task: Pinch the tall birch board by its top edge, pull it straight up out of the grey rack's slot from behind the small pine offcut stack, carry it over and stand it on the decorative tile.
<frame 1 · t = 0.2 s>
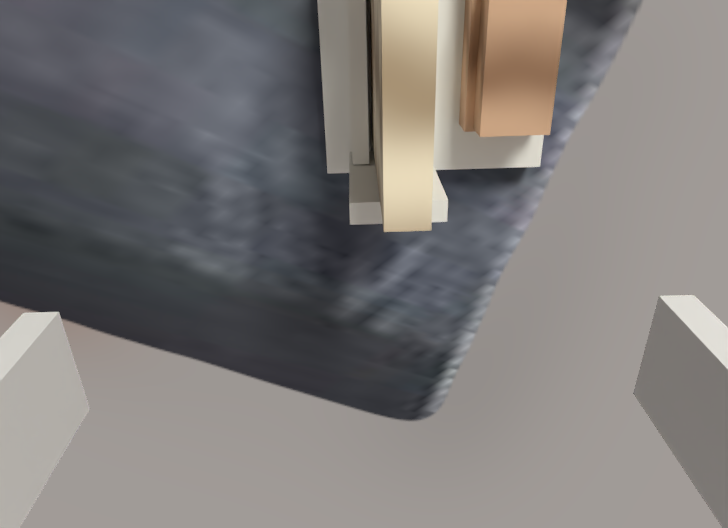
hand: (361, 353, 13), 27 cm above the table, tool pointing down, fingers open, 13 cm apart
offcut upper: (512, 56, 32), point 4 cm above the table, touching offcut lower
birch board: (387, 41, 33), point 2 cm above the table, touching board rack
offcut lower: (505, 38, 33), point 2 cm above the table, touching board rack, offcut upper
board rack: (433, 36, 35), on the table
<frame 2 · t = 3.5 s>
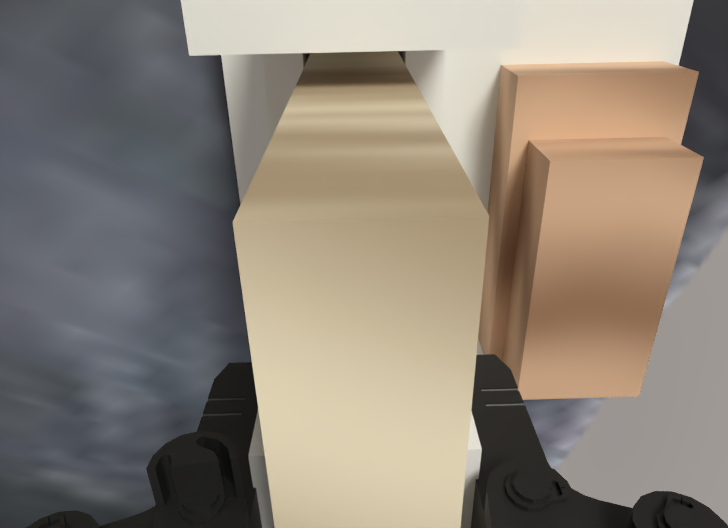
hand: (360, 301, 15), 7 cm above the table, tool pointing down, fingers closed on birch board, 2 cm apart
offcut upper: (575, 260, 18), point 4 cm above the table, touching offcut lower
birch board: (358, 218, 20), point 2 cm above the table, touching board rack, gripper
offcut lower: (559, 213, 20), point 2 cm above the table, touching board rack, offcut upper
board rack: (436, 195, 21), on the table
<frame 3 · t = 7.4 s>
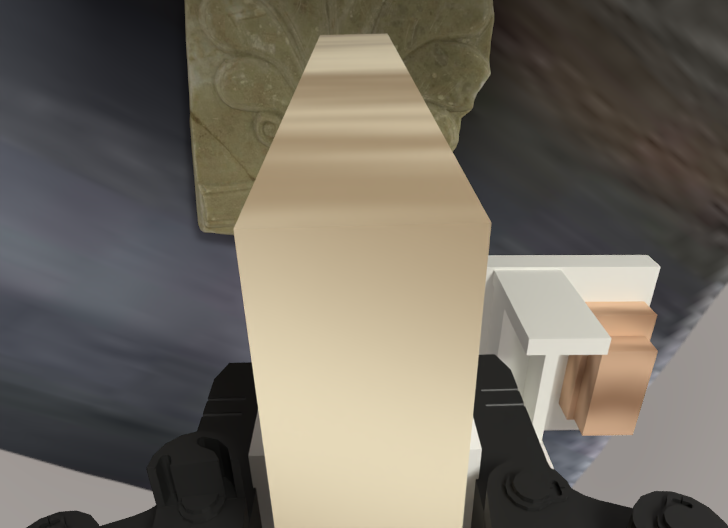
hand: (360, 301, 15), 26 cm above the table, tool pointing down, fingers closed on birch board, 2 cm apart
offcut upper: (607, 378, 44), point 4 cm above the table, touching offcut lower
decorative tile: (338, 92, 38), on the table
birch board: (358, 220, 20), point 21 cm above the table, touching gripper
offcut lower: (599, 354, 46), point 2 cm above the table, touching board rack, offcut upper
board rack: (542, 340, 47), on the table
when the fingers open (9 cm above the table, at t = 11.5 s): birch board stays where it is, resting on decorative tile.
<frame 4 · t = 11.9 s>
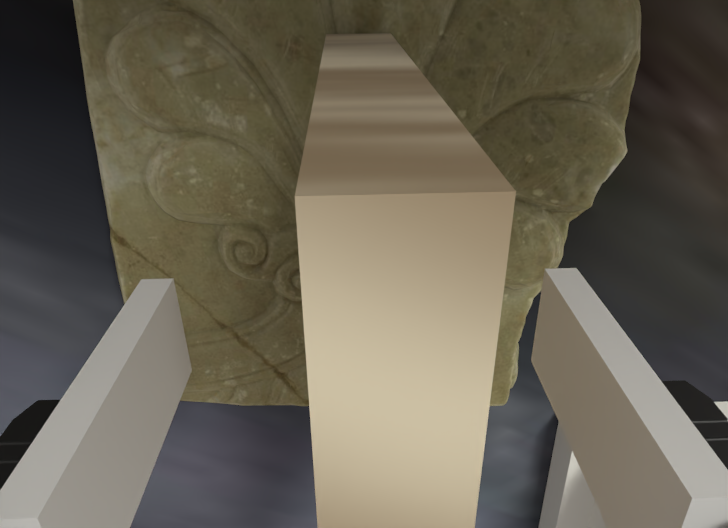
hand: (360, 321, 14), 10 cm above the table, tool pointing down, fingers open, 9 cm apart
decorative tile: (357, 176, 24), on the table, touching birch board
birch board: (360, 213, 20), point 3 cm above the table, touching decorative tile
board rack: (663, 510, 32), on the table
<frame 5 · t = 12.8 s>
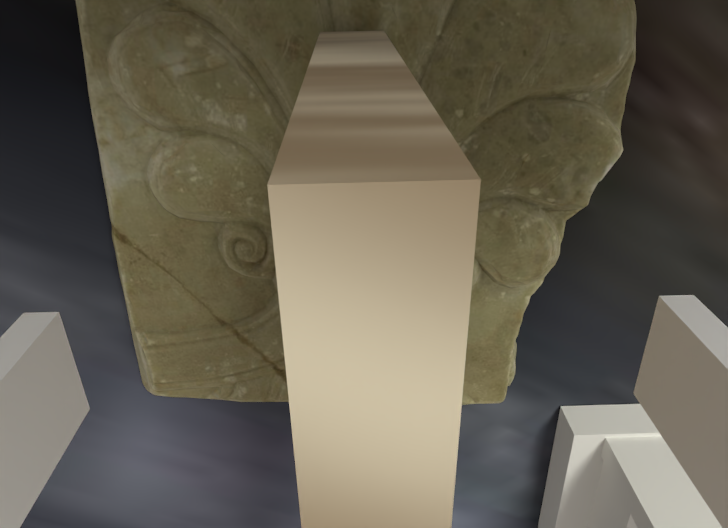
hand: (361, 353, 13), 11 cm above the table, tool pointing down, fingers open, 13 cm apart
decorative tile: (356, 175, 24), on the table, touching birch board
birch board: (356, 209, 20), point 3 cm above the table, touching decorative tile
board rack: (662, 510, 32), on the table
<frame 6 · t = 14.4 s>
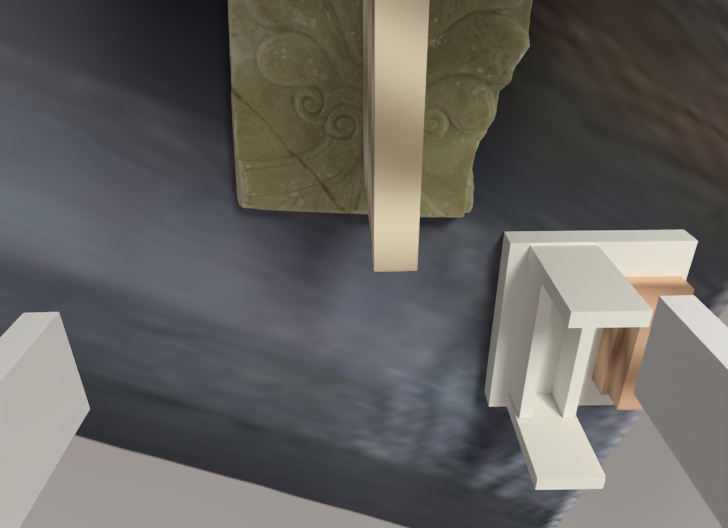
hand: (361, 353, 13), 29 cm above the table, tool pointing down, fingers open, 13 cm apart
offcut upper: (642, 353, 44), point 4 cm above the table, touching offcut lower
decorative tile: (375, 67, 39), on the table, touching birch board
birch board: (379, 79, 35), point 3 cm above the table, touching decorative tile
offcut lower: (633, 329, 46), point 2 cm above the table, touching board rack, offcut upper
board rack: (576, 316, 47), on the table
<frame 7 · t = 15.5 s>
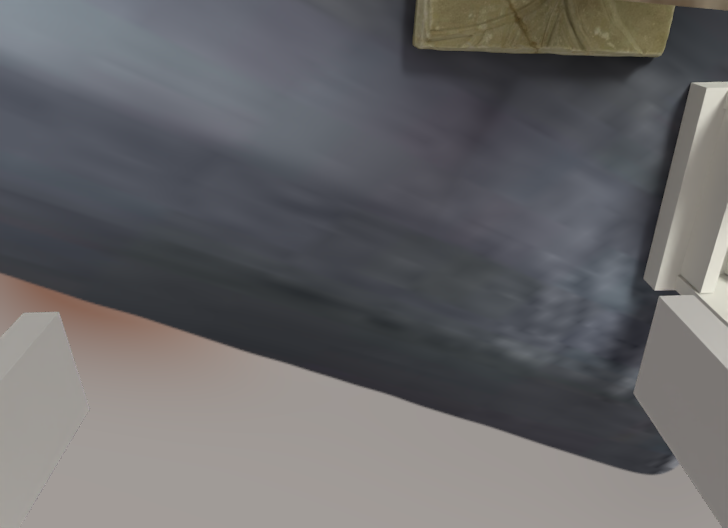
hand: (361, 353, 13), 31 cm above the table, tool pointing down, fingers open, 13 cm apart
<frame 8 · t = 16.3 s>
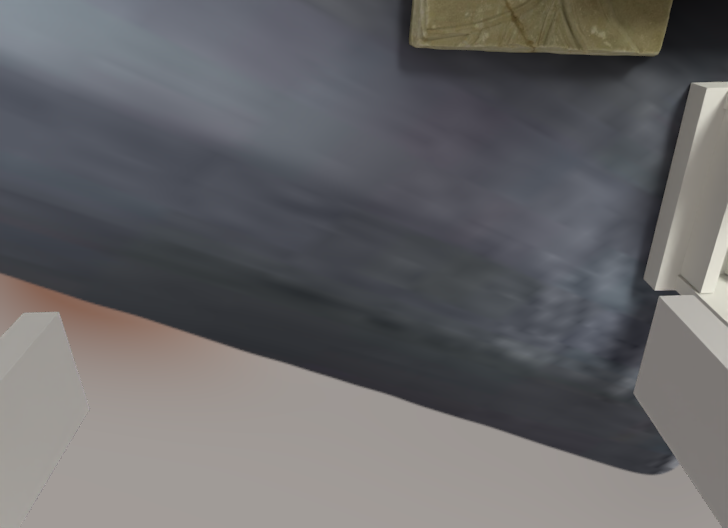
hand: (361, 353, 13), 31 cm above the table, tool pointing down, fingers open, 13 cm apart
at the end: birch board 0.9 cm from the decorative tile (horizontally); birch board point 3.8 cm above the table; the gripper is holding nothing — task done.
